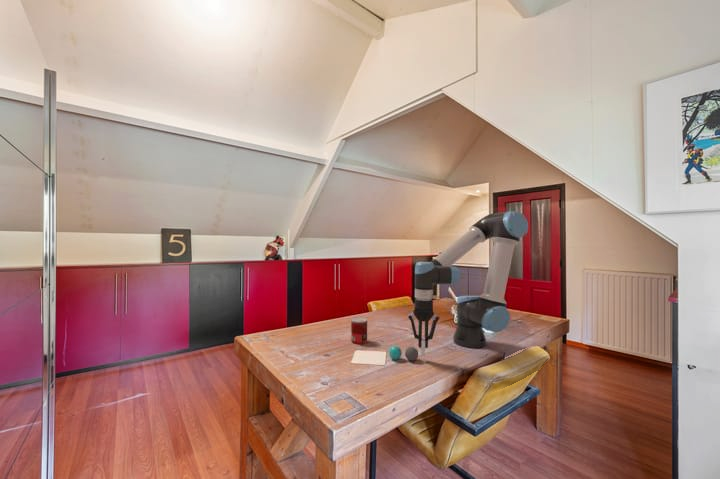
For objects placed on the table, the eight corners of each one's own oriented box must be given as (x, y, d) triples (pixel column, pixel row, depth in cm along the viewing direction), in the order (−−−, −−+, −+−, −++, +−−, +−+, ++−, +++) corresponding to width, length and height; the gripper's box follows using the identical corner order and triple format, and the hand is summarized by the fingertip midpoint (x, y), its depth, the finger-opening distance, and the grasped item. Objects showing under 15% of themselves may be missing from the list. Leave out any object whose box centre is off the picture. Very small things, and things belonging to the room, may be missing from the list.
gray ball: (410, 342, 127) (401, 350, 128) (412, 347, 122) (402, 356, 122) (420, 351, 127) (411, 359, 127) (421, 356, 121) (412, 365, 122)
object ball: (401, 356, 128) (401, 344, 128) (401, 362, 123) (401, 348, 123) (388, 356, 129) (388, 343, 129) (388, 361, 123) (388, 348, 123)
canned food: (365, 345, 142) (365, 322, 142) (349, 343, 144) (349, 321, 144) (368, 339, 150) (368, 318, 150) (353, 338, 151) (353, 317, 151)
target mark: (386, 352, 133) (386, 351, 133) (385, 365, 119) (385, 365, 119) (355, 350, 135) (355, 350, 135) (350, 363, 121) (350, 363, 121)
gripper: (408, 300, 121) (407, 357, 121) (441, 301, 119) (440, 359, 119) (407, 296, 128) (406, 351, 128) (438, 297, 127) (437, 352, 127)
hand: (422, 355), depth 124 cm, fingers closed
